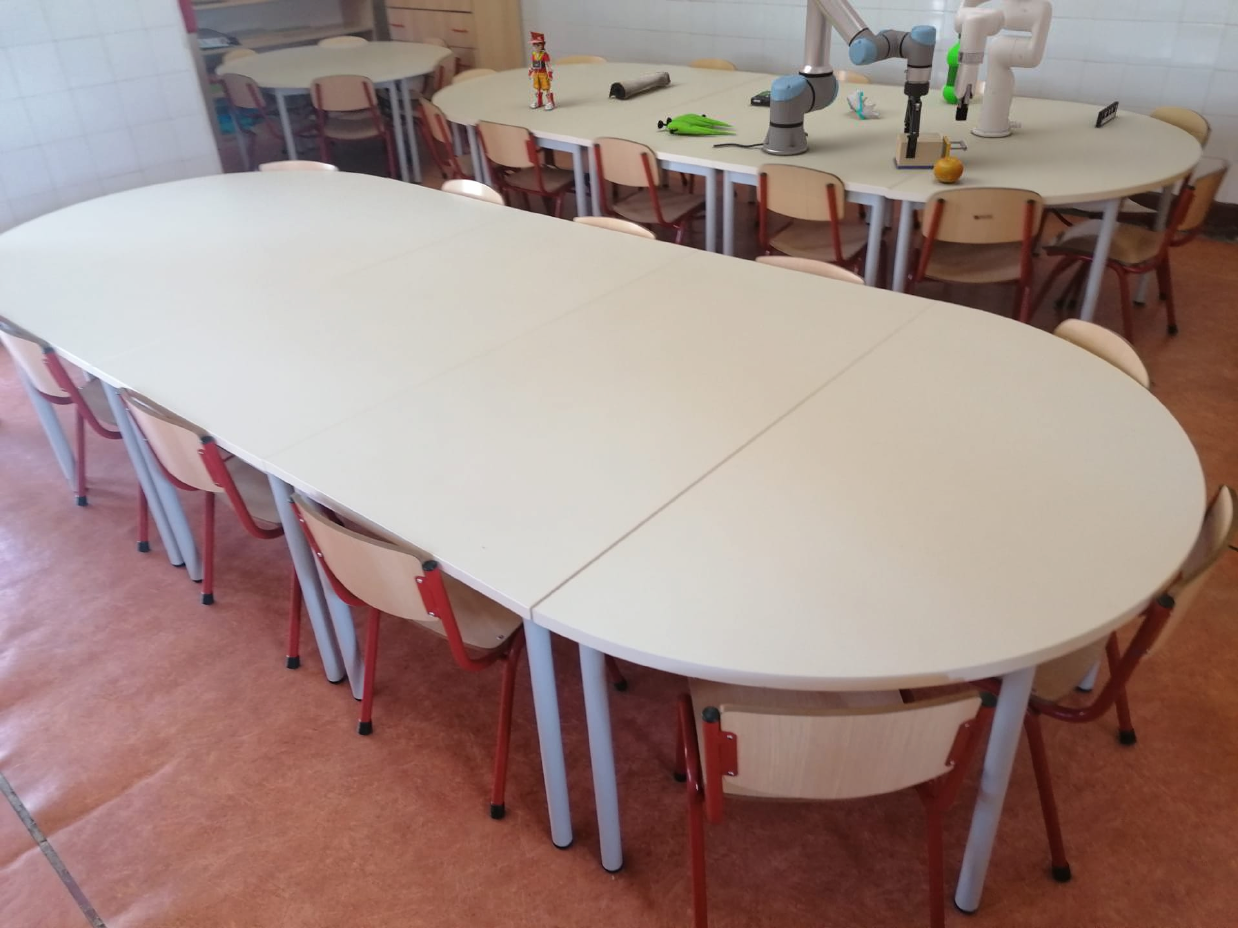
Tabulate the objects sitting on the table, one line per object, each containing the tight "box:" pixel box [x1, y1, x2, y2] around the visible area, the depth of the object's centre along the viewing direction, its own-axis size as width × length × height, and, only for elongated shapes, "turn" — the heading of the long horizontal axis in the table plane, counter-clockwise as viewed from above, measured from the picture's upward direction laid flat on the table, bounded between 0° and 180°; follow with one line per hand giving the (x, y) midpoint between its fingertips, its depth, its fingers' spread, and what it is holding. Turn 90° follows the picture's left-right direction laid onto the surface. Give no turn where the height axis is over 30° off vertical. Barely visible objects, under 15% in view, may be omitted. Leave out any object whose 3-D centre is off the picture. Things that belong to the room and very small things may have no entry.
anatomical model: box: [846, 88, 881, 120], centre depth 344 cm, size 15×10×10 cm
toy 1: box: [527, 31, 556, 111], centre depth 374 cm, size 12×9×30 cm
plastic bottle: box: [942, 33, 961, 104], centre depth 348 cm, size 10×10×25 cm
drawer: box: [941, 135, 968, 159], centre depth 290 cm, size 17×9×6 cm, turn 81°
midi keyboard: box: [1095, 100, 1120, 128], centre depth 320 cm, size 18×1×5 cm, turn 138°
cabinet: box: [894, 132, 943, 170], centre depth 291 cm, size 13×11×8 cm
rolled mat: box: [608, 71, 672, 101], centre depth 395 cm, size 30×9×10 cm
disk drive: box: [750, 90, 771, 107], centre depth 369 cm, size 10×3×15 cm
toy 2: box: [657, 113, 735, 135], centre depth 338 cm, size 28×5×30 cm
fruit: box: [933, 156, 965, 183], centre depth 275 cm, size 8×9×8 cm
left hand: (908, 153), depth 292 cm, fingers closed on cabinet, 11 cm apart
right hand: (960, 120), depth 284 cm, fingers closed
